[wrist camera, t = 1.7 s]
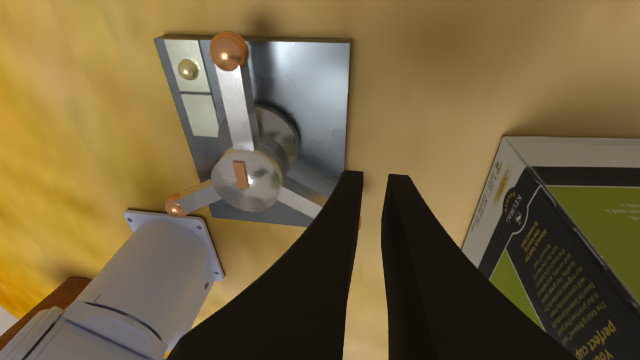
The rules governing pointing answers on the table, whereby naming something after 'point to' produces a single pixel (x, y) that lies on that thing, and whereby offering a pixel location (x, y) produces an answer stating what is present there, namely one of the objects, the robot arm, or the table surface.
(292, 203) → the capstan
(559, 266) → the tea box
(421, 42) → the table surface
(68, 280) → the disposable coffee cup
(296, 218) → the stand plate
